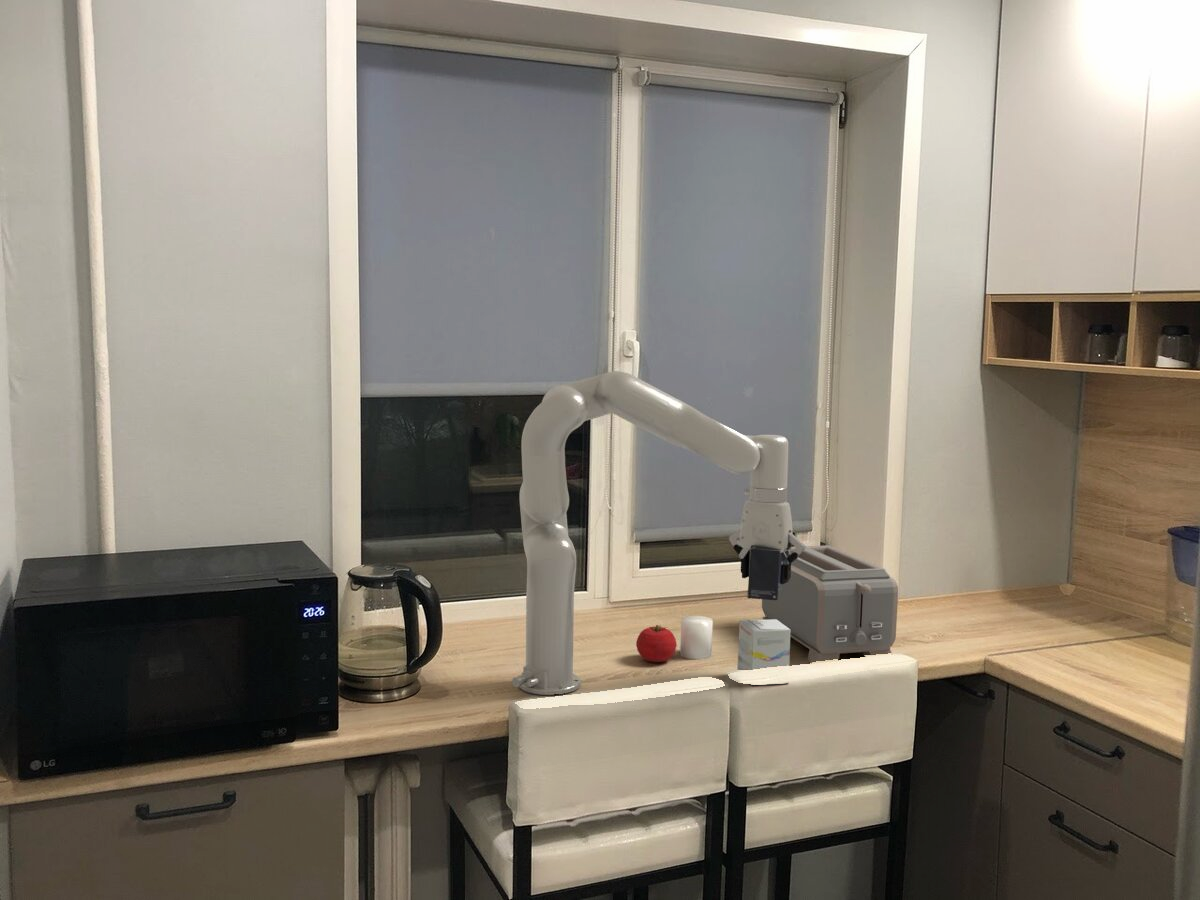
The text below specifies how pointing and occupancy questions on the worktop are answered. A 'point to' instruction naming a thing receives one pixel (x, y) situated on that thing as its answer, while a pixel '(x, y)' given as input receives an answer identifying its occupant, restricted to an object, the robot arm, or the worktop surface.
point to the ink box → (763, 644)
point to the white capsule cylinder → (696, 637)
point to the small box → (764, 573)
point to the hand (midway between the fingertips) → (765, 579)
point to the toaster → (836, 604)
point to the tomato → (656, 644)
